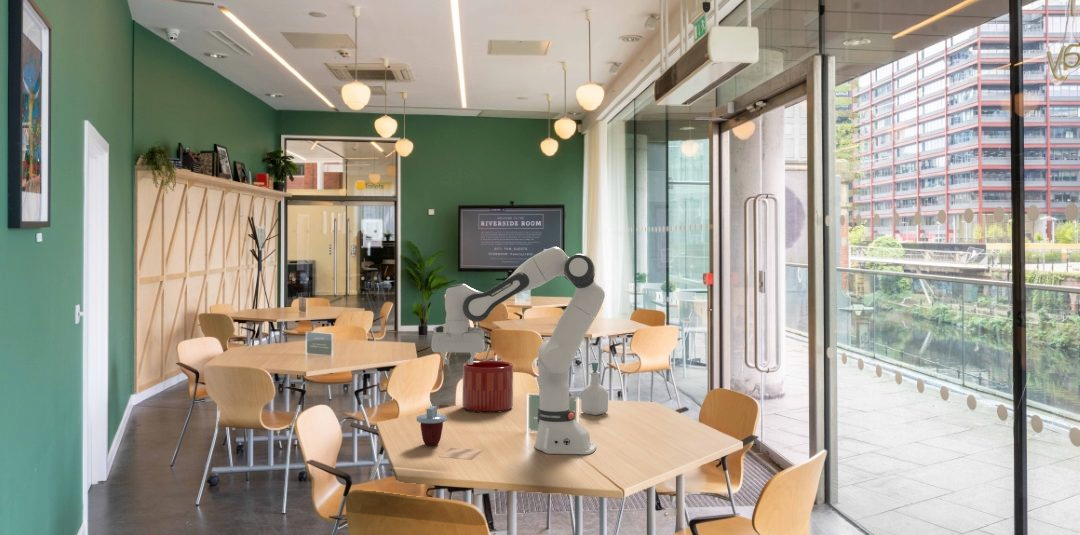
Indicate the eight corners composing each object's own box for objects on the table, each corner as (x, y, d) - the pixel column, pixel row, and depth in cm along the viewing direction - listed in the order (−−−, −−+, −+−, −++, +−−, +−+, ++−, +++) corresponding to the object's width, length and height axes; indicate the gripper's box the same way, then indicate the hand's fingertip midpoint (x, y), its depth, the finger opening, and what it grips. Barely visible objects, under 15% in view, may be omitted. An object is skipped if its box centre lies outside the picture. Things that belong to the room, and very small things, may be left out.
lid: (451, 417, 266) (451, 405, 266) (440, 424, 255) (440, 411, 255) (423, 415, 269) (423, 403, 269) (411, 422, 258) (411, 409, 258)
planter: (492, 416, 314) (493, 369, 313) (452, 409, 326) (452, 364, 326) (522, 406, 333) (523, 363, 333) (483, 400, 346) (483, 359, 345)
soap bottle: (594, 410, 328) (594, 360, 327) (609, 413, 320) (610, 362, 320) (579, 413, 321) (579, 362, 321) (595, 416, 314) (595, 364, 314)
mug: (442, 450, 258) (443, 422, 258) (420, 451, 257) (420, 423, 256) (442, 443, 268) (442, 416, 268) (420, 443, 267) (420, 416, 267)
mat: (482, 451, 257) (482, 450, 257) (471, 461, 245) (471, 459, 245) (451, 449, 259) (451, 447, 259) (438, 458, 248) (438, 456, 248)
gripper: (486, 326, 270) (487, 363, 270) (435, 326, 274) (436, 362, 275) (481, 328, 264) (482, 365, 264) (429, 328, 268) (430, 365, 269)
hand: (458, 364), depth 269 cm, fingers open, 8 cm apart
